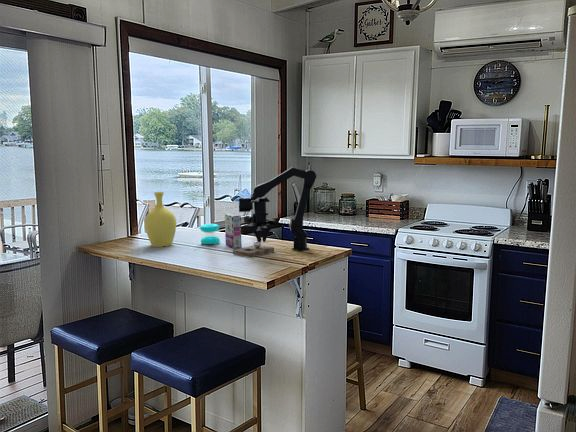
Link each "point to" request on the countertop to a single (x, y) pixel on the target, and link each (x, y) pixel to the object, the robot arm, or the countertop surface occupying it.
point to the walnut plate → (253, 251)
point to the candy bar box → (233, 230)
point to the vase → (160, 224)
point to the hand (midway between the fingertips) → (261, 242)
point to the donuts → (210, 238)
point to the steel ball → (257, 244)
